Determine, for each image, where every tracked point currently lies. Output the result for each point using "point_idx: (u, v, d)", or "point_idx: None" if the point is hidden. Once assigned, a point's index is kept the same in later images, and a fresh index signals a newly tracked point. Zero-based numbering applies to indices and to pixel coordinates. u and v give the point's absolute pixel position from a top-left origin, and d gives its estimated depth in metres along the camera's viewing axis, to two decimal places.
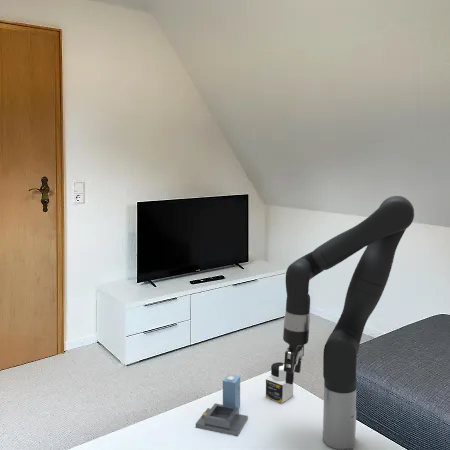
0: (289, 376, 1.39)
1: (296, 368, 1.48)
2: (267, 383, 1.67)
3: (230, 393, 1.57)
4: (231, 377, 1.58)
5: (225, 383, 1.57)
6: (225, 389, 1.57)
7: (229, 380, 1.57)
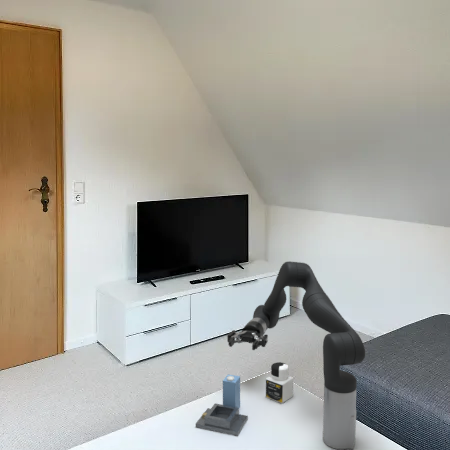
0: None
1: None
2: (267, 383, 1.67)
3: (230, 393, 1.57)
4: (231, 377, 1.58)
5: (225, 383, 1.57)
6: (225, 389, 1.57)
7: (229, 380, 1.57)
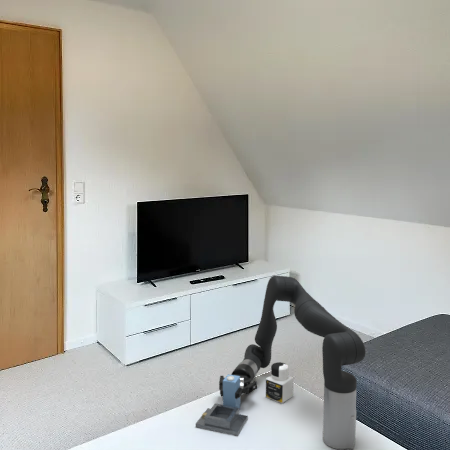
0: None
1: None
2: (267, 383, 1.67)
3: (230, 393, 1.57)
4: (231, 377, 1.58)
5: (225, 383, 1.57)
6: (225, 389, 1.57)
7: (229, 380, 1.57)
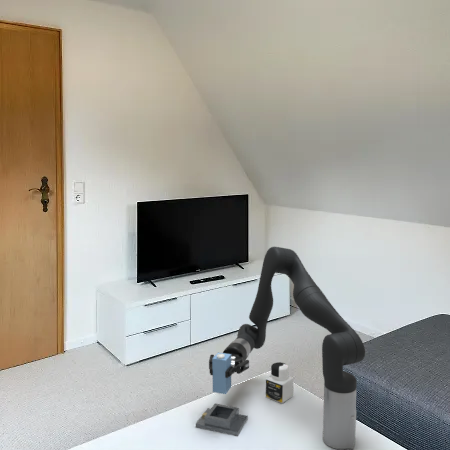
0: None
1: None
2: (267, 383, 1.67)
3: (220, 372, 1.47)
4: (221, 355, 1.48)
5: (215, 361, 1.47)
6: (214, 368, 1.48)
7: (219, 358, 1.47)
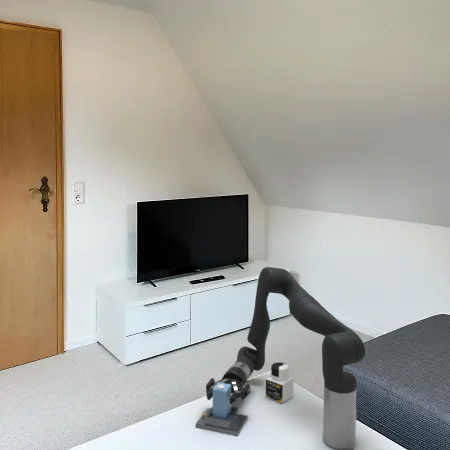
0: None
1: None
2: (267, 383, 1.67)
3: (220, 402, 1.48)
4: (221, 385, 1.49)
5: (216, 392, 1.48)
6: (215, 398, 1.49)
7: (219, 389, 1.48)
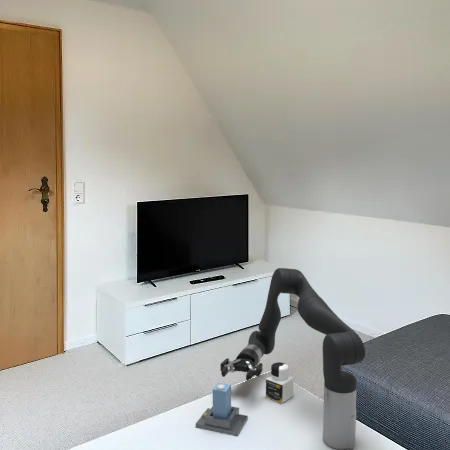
0: None
1: None
2: (267, 383, 1.67)
3: (220, 402, 1.48)
4: (221, 385, 1.49)
5: (215, 392, 1.48)
6: (215, 399, 1.49)
7: (219, 389, 1.48)
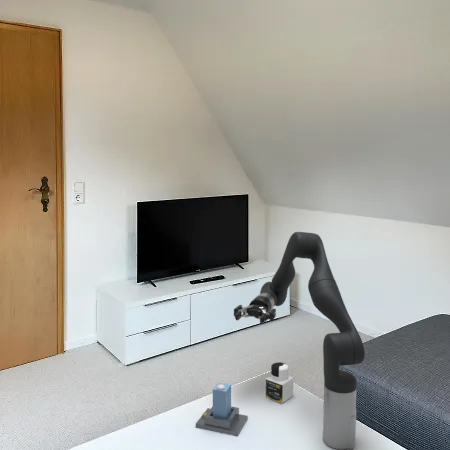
0: None
1: None
2: (267, 383, 1.67)
3: (220, 402, 1.48)
4: (221, 385, 1.49)
5: (215, 392, 1.48)
6: (215, 399, 1.49)
7: (219, 389, 1.48)
